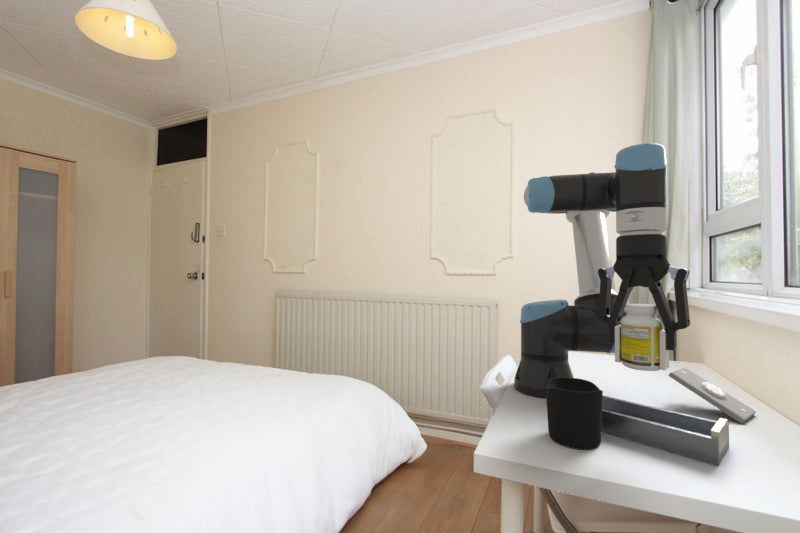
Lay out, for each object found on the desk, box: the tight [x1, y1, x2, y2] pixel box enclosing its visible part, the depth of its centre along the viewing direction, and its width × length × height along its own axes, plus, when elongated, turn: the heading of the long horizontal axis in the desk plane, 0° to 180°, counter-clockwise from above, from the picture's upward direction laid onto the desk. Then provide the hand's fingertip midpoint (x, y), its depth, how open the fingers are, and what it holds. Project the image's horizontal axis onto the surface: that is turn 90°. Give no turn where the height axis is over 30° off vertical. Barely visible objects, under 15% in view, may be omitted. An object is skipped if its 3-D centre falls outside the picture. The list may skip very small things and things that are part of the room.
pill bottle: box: [620, 303, 663, 372], centre depth 66 cm, size 6×6×11 cm
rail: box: [601, 395, 730, 467], centre depth 69 cm, size 21×10×5 cm, turn 41°
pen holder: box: [546, 377, 604, 450], centre depth 68 cm, size 9×9×10 cm
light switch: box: [668, 367, 757, 425], centre depth 83 cm, size 8×6×14 cm
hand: (641, 364), depth 66 cm, fingers closed on pill bottle, 6 cm apart
